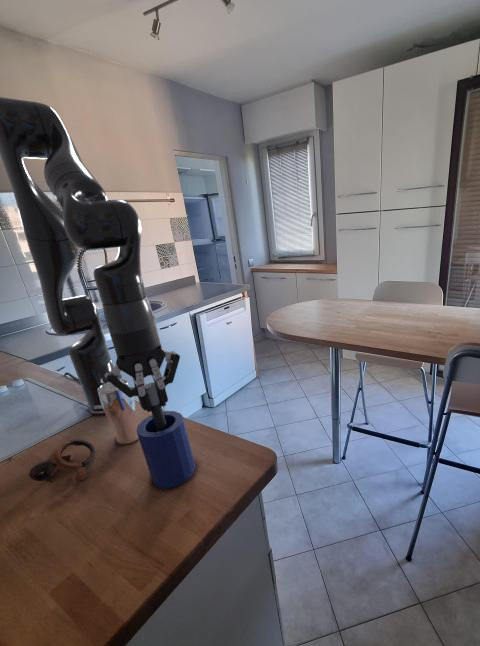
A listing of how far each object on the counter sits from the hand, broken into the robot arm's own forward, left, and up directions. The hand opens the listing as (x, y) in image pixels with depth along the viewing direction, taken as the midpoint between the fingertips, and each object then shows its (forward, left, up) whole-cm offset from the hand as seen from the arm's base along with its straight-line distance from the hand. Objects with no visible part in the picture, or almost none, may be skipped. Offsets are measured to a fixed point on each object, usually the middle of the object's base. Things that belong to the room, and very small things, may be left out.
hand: (155, 407), depth 66 cm
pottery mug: (-16, -18, -17) cm, 30 cm away
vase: (0, 0, -17) cm, 17 cm away
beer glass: (-21, -4, -17) cm, 27 cm away
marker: (0, 0, -9) cm, 9 cm away
